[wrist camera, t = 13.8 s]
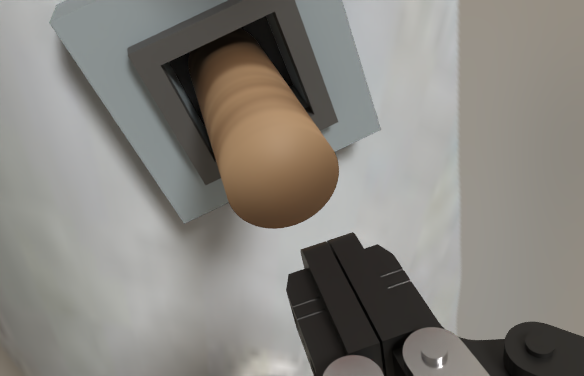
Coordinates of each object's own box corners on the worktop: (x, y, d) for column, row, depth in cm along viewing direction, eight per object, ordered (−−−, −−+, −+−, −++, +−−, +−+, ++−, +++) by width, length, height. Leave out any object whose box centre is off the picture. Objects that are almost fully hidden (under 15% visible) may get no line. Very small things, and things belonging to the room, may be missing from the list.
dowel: (174, 46, 26) (205, 161, 17) (245, 12, 26) (318, 108, 17) (208, 111, 29) (253, 245, 19) (274, 80, 29) (351, 198, 19)
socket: (56, 4, 24) (46, 29, 21) (292, -106, 24) (318, -99, 21) (179, 194, 31) (185, 234, 28) (360, 107, 31) (388, 137, 28)
